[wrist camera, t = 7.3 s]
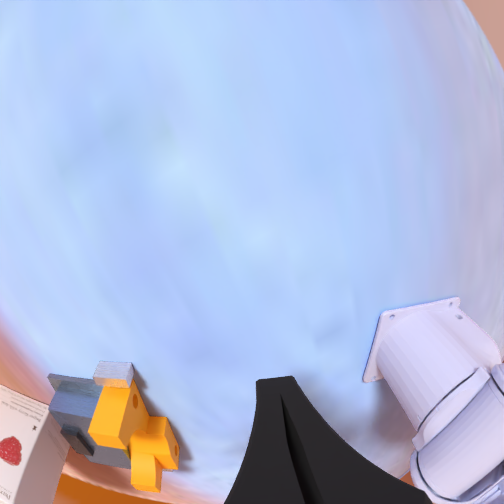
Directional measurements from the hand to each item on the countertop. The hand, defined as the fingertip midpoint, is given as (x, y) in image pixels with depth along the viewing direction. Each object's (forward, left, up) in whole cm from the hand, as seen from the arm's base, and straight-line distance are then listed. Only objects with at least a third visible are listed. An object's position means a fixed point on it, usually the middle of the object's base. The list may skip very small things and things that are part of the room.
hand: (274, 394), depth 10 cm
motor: (+15, +15, -9) cm, 23 cm away
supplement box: (+28, +18, -10) cm, 35 cm away
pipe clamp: (+11, +15, -10) cm, 21 cm away
